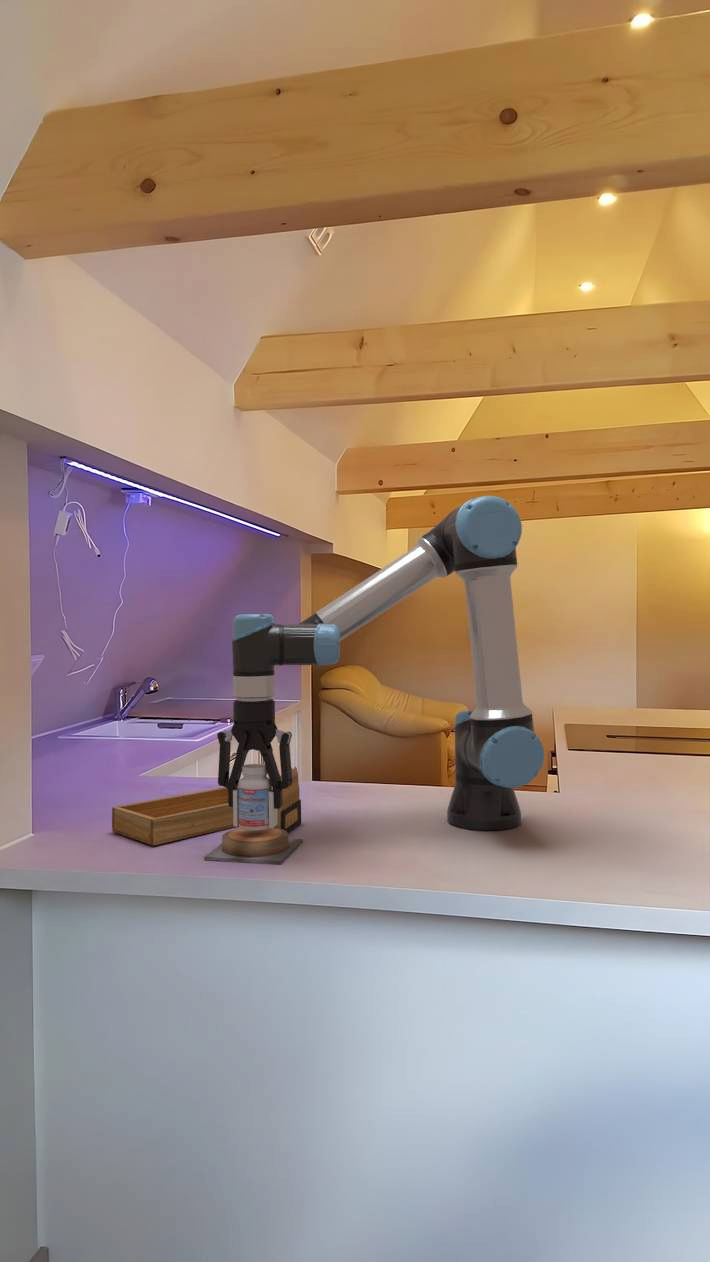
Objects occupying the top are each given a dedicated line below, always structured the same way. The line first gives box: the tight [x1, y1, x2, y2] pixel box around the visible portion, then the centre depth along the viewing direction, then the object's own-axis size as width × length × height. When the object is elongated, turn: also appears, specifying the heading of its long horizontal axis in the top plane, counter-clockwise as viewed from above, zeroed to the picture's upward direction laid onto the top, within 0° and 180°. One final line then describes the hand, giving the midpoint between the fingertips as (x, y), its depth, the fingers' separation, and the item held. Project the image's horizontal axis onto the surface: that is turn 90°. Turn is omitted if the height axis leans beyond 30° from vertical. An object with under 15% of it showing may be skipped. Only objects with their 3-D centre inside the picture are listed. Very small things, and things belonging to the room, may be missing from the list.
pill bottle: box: [238, 763, 273, 831], centre depth 141 cm, size 6×6×11 cm
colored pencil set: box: [274, 766, 302, 834], centre depth 156 cm, size 11×2×12 cm, turn 164°
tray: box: [111, 786, 238, 846], centre depth 160 cm, size 31×15×6 cm, turn 137°
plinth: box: [203, 827, 304, 865], centre depth 142 cm, size 14×14×3 cm
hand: (255, 825), depth 141 cm, fingers closed on pill bottle, 6 cm apart
